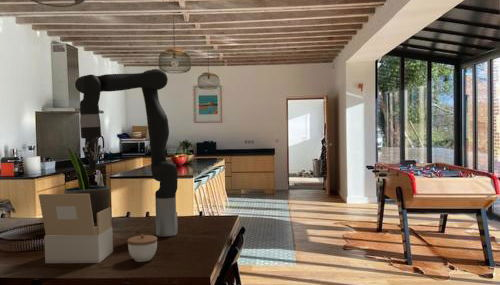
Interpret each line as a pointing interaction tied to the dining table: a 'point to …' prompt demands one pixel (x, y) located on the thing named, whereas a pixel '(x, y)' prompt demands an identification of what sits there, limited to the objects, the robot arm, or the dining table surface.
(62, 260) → the carton
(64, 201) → the flap
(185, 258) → the dining table surface
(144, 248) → the lidded jar
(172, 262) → the dining table surface
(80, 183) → the potted plant
